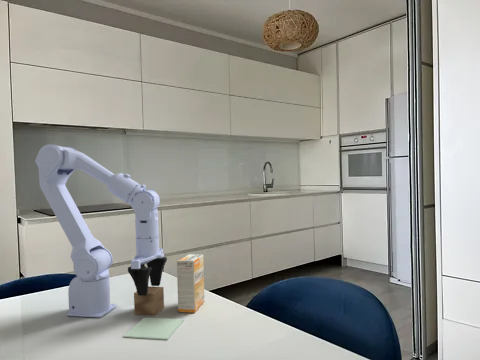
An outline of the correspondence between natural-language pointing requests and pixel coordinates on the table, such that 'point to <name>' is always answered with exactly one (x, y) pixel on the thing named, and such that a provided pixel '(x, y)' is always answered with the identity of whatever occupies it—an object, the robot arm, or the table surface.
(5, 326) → the table surface
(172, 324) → the sage pad
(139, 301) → the walnut block
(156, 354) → the table surface
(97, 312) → the robot arm
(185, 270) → the supplement box
